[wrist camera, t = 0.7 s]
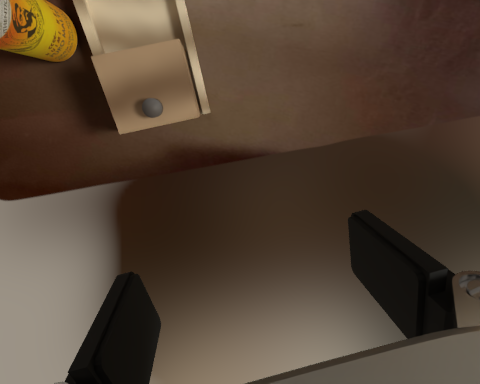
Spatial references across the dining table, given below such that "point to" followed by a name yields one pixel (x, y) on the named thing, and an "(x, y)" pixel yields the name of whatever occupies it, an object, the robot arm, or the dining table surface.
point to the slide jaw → (147, 85)
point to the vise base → (141, 30)
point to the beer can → (36, 30)
